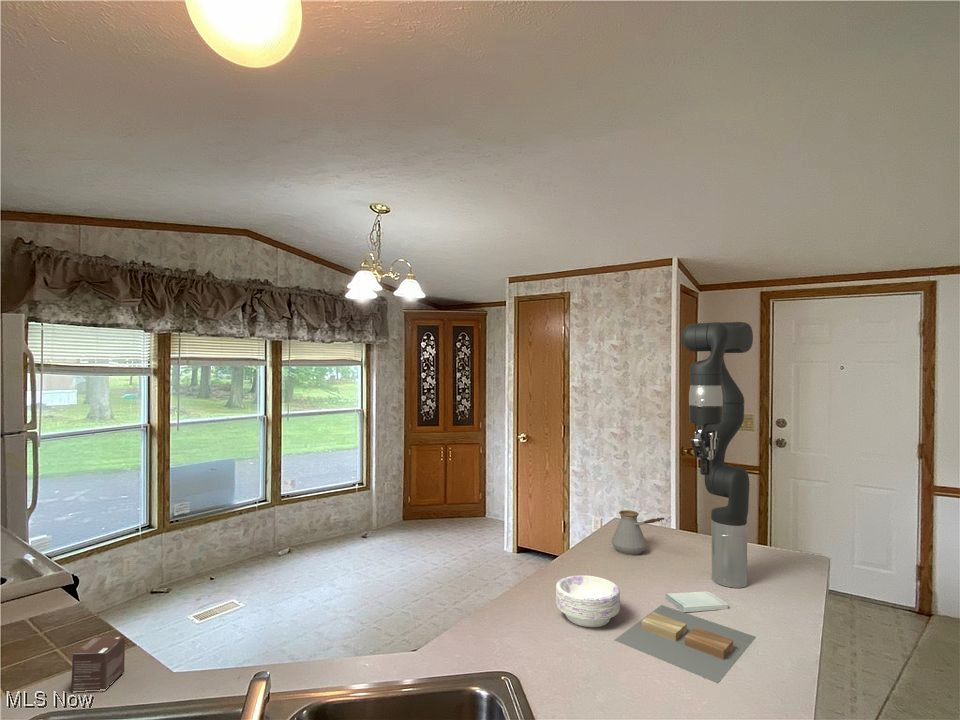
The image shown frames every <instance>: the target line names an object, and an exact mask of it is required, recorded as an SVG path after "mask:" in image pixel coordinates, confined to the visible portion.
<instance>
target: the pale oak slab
mask: <svg viewBox="0 0 960 720" xmlns="http://www.w3.org/2000/svg"><path fill="white" fill-rule="evenodd" d="M652 612H653V611H652ZM650 613H651V612H650ZM650 613H649V614H650ZM649 614H648V615H649ZM646 616H647V615H646ZM646 616H645V617H646ZM645 617H644V618H645ZM642 619H643V618H642ZM642 619H641V620H642ZM642 629H644V630H647V631H649V632H652V633H654V634H657V635H660V636H662V637H665V638H668V639H670V640H673V641H675V642H676V641H677V640H678V639H679V638H680V637H681V636H683V635H684V634H685V633H686V632H687V624H686V623H683V622H680V621H677V620H674V619H671V618H669V617H666V616H663V615H660V614H657V613H654V612H653V613H651V614H650V615H649V616H647V617H646V618H645V619H643V620H642Z"/></svg>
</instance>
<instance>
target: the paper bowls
mask: <svg viewBox="0 0 960 720" xmlns="http://www.w3.org/2000/svg"><path fill="white" fill-rule="evenodd" d="M620 599H621V591H620V588H619V586H618V585H617V584H616V583H614V582H613V581H611V580H608V579H606V578H603V577H600V576H596V575H595V576H593V575H586V574H585V575H583V574H582V575H581V574H580V575H579V574H576V575H570V576H567V577H563V578H560V579H559V580H558V581H557V583H556V584H555V606H556V608H558V610H559V611H560V612H562V613H563V614H564V615H565V617H566V619H568V621H570V623H573V624H575V625H577V626H581V627H584V628H585V627H586V628H600V627H603V626H606V625H607V624H608V623H609V622H610V620H611V618H614V617H615V616H617V615H618V614H619V613H620V611H621V606H620V605H621V602H620V601H621V600H620Z"/></svg>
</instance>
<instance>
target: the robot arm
mask: <svg viewBox="0 0 960 720" xmlns="http://www.w3.org/2000/svg"><path fill="white" fill-rule="evenodd" d="M680 335H681V337H680V338H681V343H682V345H683V347H684V348H685V349H686V350H687V351H689V352H710V355H709V356H708V357H707V358H706V359H705V358H704V359H703V360H698V361H693V362H692V363H691V364H690V366H689V391H688V421H689V423H691V424H695V430H694V437H691V439H690V442H691V446H692V449H693V452H694V454H695V457H696V458H698V459H699V461H700V470H699V471H700V474H701V475H702V476H704V485H705V489H706V491H707V492H708V494H711V495H713V496H714V495H715V496H718V497H723V498H728V500H727V501H728V502H727V505H726V506H719V507H714V508H713V509H712V510H711V513H710V515H711V516H710V517H711V520H710V521H711V523H710V525H711V528H710V529H711V530H710V531H711V533H710V534H711V580H712V581H713V582H714V583H716V584H718V585H720V586H724V587H728V588H735V589H736V588H739V589H742V588H745V587H747V586H748V527H747V526H748V521H747V520H748V515H749V507H750V506H749V503H750V502H749V501H750V477H749V473H748V471H747V470H746V468H744V467H740V466H734V465H729V464H725V459H726V458H725V457H726V452H727V449H728V446H729V444H730V442H731V441H732V440H733V438H734V437H735V435H736V434H737V433H738V431H739V430H740V429H741V427H742V425H743V423H744V419H745V398H744V394H743V392H742V391H741V389H740V388H739V386H738V384H737V383H736V382H735V380H734V379H733V377H732V375H731V374H730V372H729V370H728V369H727V366H726V362H725V358H724V357H725V354H742V353H747V352H749V351H750V350H751V349H752V345H753V344H754V343H753V342H754V341H753V340H754V333H753V329H752V326H751V325H750V324H749V323H747V322H744V321H731V322H730V321H729V322H721V321H720V322H718V321H715V322H714V321H713V322H698V323H691V324H690V323H689V324H688V325H686V326H685V327H684V328H683V330H682V333H681V334H680Z"/></svg>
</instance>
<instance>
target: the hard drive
mask: <svg viewBox="0 0 960 720" xmlns="http://www.w3.org/2000/svg"><path fill="white" fill-rule="evenodd" d="M664 596H665V600H666V601H668V602H669V603H670V604H672V605H673V606H674V607H675V608H676V609H677V610H678V611H681V612H684V613H695V612H708V611H719V610H728V609H729V605H728V603H727V602H725V601H724V600H722V599H721V598H719V597H718V596H717V595H715V594H713V593H712V592H709V591H695V592H694V591H693V592H691V591H689V592H672V593H671V592H670V593H665V595H664Z"/></svg>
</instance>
